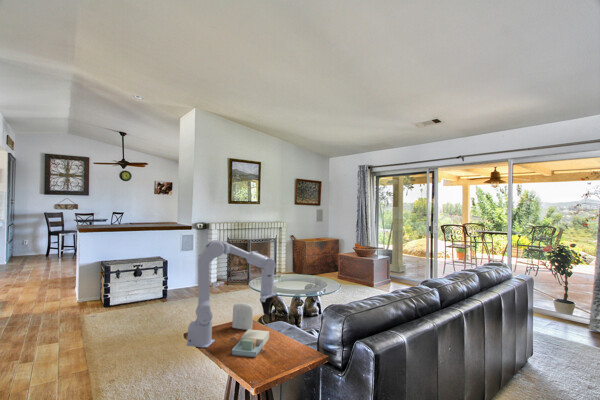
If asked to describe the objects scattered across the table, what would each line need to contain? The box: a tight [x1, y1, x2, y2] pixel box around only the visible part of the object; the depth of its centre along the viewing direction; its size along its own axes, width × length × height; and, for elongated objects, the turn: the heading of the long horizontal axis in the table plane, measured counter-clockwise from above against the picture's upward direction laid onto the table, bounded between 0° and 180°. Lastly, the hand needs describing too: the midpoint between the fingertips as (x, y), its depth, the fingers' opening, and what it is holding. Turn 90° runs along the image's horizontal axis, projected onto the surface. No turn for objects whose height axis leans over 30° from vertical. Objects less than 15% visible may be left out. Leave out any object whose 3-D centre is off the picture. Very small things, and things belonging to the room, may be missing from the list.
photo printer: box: [231, 301, 254, 331], centre depth 155 cm, size 10×4×12 cm, turn 75°
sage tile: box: [242, 338, 254, 351], centre depth 129 cm, size 4×4×2 cm
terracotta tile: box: [248, 338, 257, 349], centre depth 132 cm, size 4×4×2 cm
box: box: [231, 339, 264, 358], centre depth 129 cm, size 10×10×2 cm
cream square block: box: [240, 329, 270, 347], centre depth 139 cm, size 10×10×3 cm
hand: (266, 313), depth 145 cm, fingers closed
